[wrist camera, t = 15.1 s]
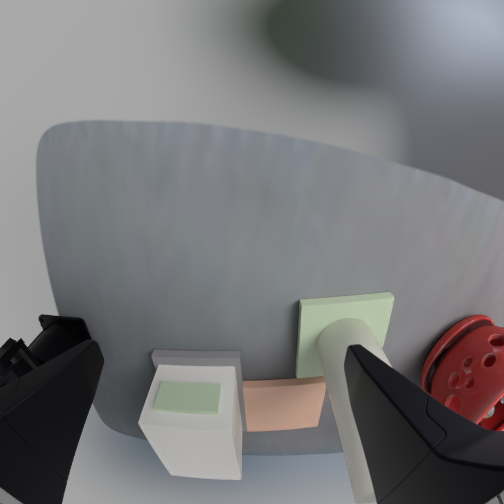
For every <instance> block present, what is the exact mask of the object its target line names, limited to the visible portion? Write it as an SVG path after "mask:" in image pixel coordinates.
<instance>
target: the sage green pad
mask: <svg viewBox="0 0 504 504" xmlns="http://www.w3.org/2000/svg"><path fill="white" fill-rule="evenodd" d="M393 302H394V296H393V295H392V294H391V293H390V292H384V293H374V294H364V295H352V296H341V297H328V298H314V299H300V304H299V324H298V342H297V357H296V370H295V372H296V377H297V378H307V377H317V376H324V375H323V372H322V368H321V365H320V361H319V358H318V354H317V351H316V342H317V339H318V337H319V335H320V334H321V332H322V331H323V330H324V329H325V328H326V327H327V326H329V325H330V324H332V323H333V322H335V321H338V320H340V319H344V318H358V319H361V320H363V321H365V322H366V323H367V324H368V325H369V327H370V329H371V331H372V332H373V334H374V336H375V338H376V339H377V341H378V343H379V345H380V346H381V348H382V347H383V344H384V340H385V336H386V332H387V328H388V324H389V320H390V316H391V311H392V307H393Z"/></svg>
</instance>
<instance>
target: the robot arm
mask: <svg viewBox="0 0 504 504" xmlns="http://www.w3.org/2000/svg"><path fill="white" fill-rule="evenodd" d="M39 321H40V323H41V326H42V328H43V331H42V332H41V333H40V334H39V335H38V336H37V337H36V339H35V340H34V341H33V342H32V343H31V344H30V345H29V346H28V347H27V346H26V345H25V344H24V341H23V340H22V339H20V340H18V341H16V340H13V339H11V338H9V339H8V340H7V341H6V343H5V344H4V345H3V346H2V347H1V348H0V504H62V501H63V497H64V492H65V488H66V485H67V482H66V481H67V480H68V476H69V473H70V469H71V465H72V462H73V459H74V455H75V452H76V449H77V446H78V442H79V439H80V436H81V433H82V430H83V427H84V424H85V421H86V419H87V416H88V413H89V410H90V408H91V405H92V402H93V399H94V396H95V393H96V390H97V386H98V382H99V379H100V375H101V371H102V368H103V364H104V358H103V355H102V352H101V350H100V347H99V345H98V343H97V342H96V341H92V340H91V337H90V335H89V332H88V329H87V327H86V324H85V322H84V320H83V319H81V318H73V317H62V316H52V315H43V314H42V315H40V316H39ZM344 372H345V377H346V383H347V389H348V394H349V400H350V405H351V409H352V412H353V416H354V419H355V423H356V426H357V430H358V433H359V437H360V440H361V444H362V447H363V451H364V455H365V458H366V462H367V466H368V470H369V473H370V477H371V481H372V485H373V489H374V493H375V497H376V502H377V504H504V431H493V430H489V429H486V428H483V427H481V426H480V425H478V424H476V423H474V422H472V421H470V420H469V419H467V418H465V417H463V416H461V415H460V414H458V413H456V412H455V411H453V410H451V409H450V408H448V407H446V406H445V405H443V404H442V403H440V402H439V401H437V400H436V399H435V398H433V397H432V396H430V395H428V394H427V393H426V392H425V391H423V390H422V389H421V388H419V387H418V386H417V385H415V384H414V383H412V382H411V381H410V380H408V379H407V378H406V377H404V376H403V375H401V374H400V373H399V372H397V371H396V370H395V369H393V368H392V367H391V366H389V365H388V364H386V363H385V362H384V361H382V360H381V359H380V358H378V357H377V356H376V355H374V354H373V353H371V352H370V351H369V350H367V349H366V348H365V347H363V346H362V345H360V344H354V345H349V346H348V348H347V351H346V356H345V360H344Z"/></svg>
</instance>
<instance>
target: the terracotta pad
mask: <svg viewBox="0 0 504 504" xmlns="http://www.w3.org/2000/svg"><path fill="white" fill-rule="evenodd" d="M325 390H326V383H325V379H324V376H317V377H307V378H291V379H277V380H256V381H243V395H244V405H245V414H246V424H247V432H252V431H275V430H289V429H300V428H309V427H317V426H318V422H319V418H320V414H321V409H322V404H323V400H324V395H325Z"/></svg>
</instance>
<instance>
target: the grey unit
mask: <svg viewBox="0 0 504 504" xmlns="http://www.w3.org/2000/svg"><path fill="white" fill-rule="evenodd" d="M151 357H152V360H153V363H154V366H155V369H156V373H155V376H154V379H153V382H152V384H151V387H150V390H149V393H148V396H147V398H146V401H145V404H144V407H143V410H142V413H141V416H140V419H139V422H138V424H139V426H140V428H141V429H142V431H143V433H144V434H145V436H146V438H147V439H148V441H149V443H150V444H151V446H152V447H153V449H154V451H155V452H156V454H157V455H158V457H159V458H160V460H161V461H162V463H163V464H164V466H165V467H166V469H167V470H168V472H169V473H170V474H171V475H176V476H184V477H194V478H205V479H225V480H226V479H227V480H241V469H242V466H241V465H242V432H247V424H246V414H245V405H244V395H243V375H242V364H241V353H240V351H184V350H158V349H154V351H153V353H152V355H151Z"/></svg>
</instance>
